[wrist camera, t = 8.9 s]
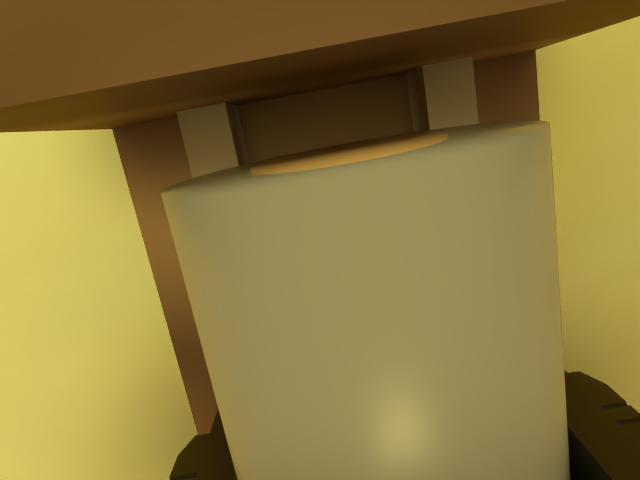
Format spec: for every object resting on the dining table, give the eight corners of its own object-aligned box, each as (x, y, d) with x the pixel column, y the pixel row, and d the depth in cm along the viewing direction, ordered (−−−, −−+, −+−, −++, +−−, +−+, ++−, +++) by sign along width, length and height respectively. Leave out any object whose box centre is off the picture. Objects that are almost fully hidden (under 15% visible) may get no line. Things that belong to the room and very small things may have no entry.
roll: (210, 166, 9) (80, 220, 4) (471, 117, 9) (661, 114, 4) (312, 595, 12) (306, 937, 7) (515, 566, 12) (661, 899, 7)
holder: (102, 33, 11) (-264, -125, 4) (509, -46, 11) (879, -358, 4) (256, 599, 16) (210, 1005, 9) (552, 551, 16) (764, 929, 8)
